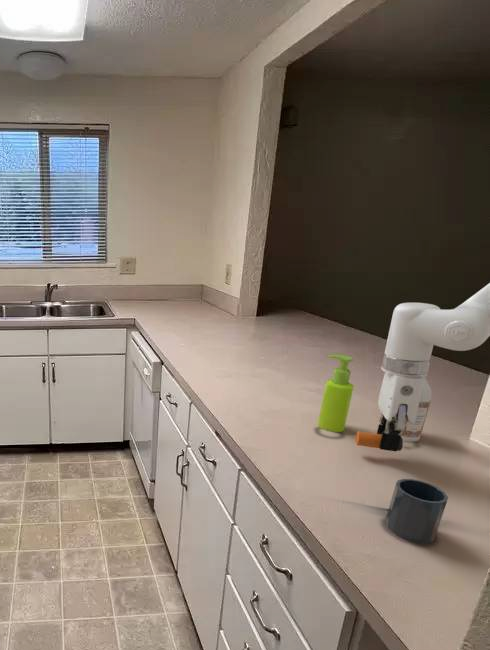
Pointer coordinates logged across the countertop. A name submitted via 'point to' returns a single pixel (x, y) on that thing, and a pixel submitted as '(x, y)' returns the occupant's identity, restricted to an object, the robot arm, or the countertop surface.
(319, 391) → the countertop surface
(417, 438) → the bath foam
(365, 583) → the countertop surface
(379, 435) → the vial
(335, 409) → the soap dispenser
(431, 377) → the countertop surface
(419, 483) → the holder
